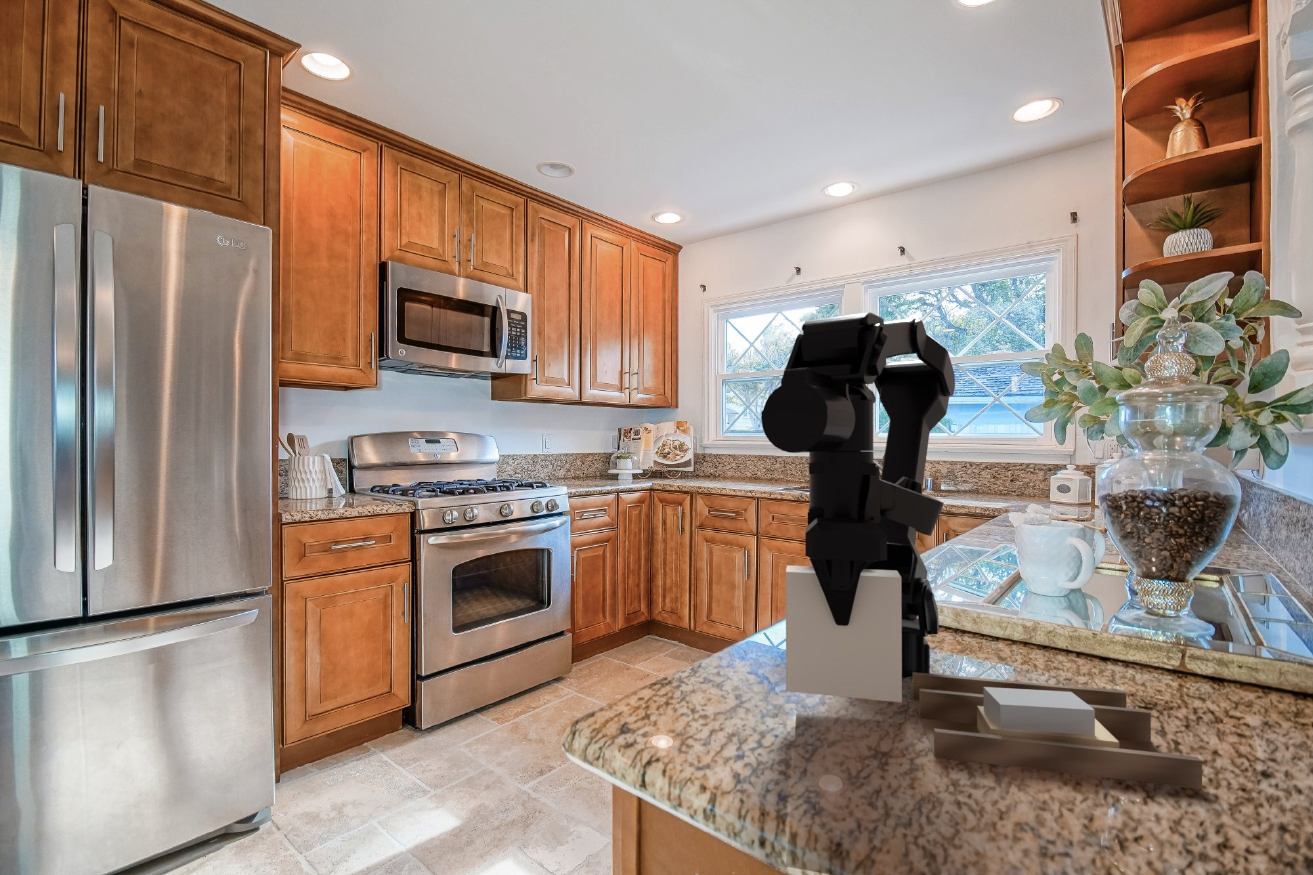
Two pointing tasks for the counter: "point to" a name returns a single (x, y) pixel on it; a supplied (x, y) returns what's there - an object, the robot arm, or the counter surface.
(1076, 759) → the rack
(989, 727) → the oak offcut
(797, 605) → the panel
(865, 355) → the robot arm
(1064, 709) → the grey offcut
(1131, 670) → the counter surface
